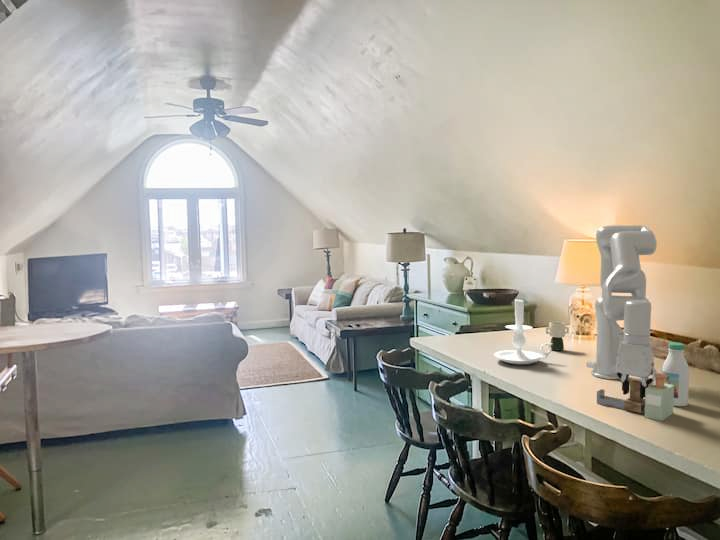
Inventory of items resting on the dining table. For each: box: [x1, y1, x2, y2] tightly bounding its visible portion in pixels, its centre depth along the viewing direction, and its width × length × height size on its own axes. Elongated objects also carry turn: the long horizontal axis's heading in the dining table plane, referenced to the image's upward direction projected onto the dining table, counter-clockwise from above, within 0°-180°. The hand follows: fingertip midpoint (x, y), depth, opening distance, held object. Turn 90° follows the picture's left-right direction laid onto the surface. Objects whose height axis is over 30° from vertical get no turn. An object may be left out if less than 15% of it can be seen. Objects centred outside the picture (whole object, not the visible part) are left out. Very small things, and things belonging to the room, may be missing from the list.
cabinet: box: [644, 382, 674, 422], centre depth 170 cm, size 5×10×9 cm, turn 134°
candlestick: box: [493, 298, 553, 365], centre depth 238 cm, size 21×25×28 cm
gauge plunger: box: [655, 372, 666, 389], centre depth 170 cm, size 3×3×7 cm
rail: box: [596, 389, 645, 415], centre depth 178 cm, size 16×4×4 cm, turn 44°
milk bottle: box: [661, 342, 690, 407], centre depth 181 cm, size 8×8×20 cm
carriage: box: [623, 379, 645, 414], centre depth 175 cm, size 5×6×9 cm
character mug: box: [545, 321, 570, 351], centre depth 262 cm, size 11×7×13 cm, turn 90°
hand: (634, 394), depth 176 cm, fingers open, 4 cm apart
